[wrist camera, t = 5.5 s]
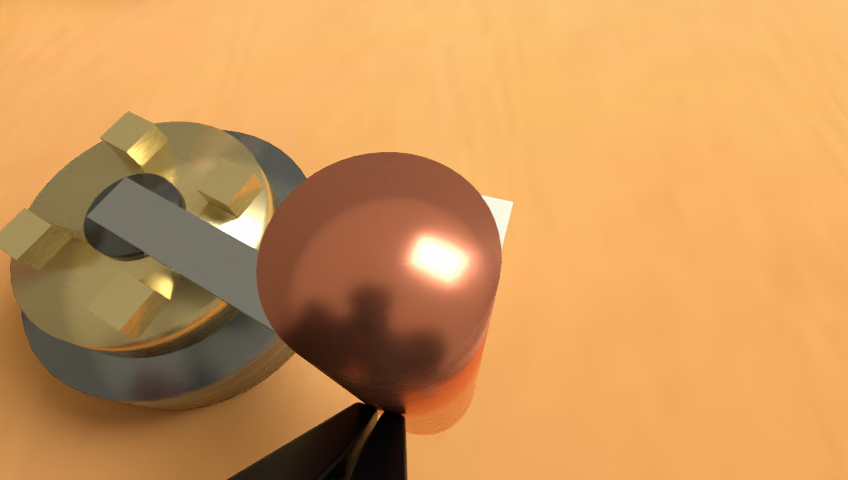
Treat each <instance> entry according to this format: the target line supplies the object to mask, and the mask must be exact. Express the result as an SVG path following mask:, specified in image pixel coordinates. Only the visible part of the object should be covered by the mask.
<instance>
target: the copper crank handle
mask: <svg viewBox="0 0 848 480" xmlns="http://www.w3.org/2000/svg"><path fill="white" fill-rule="evenodd" d="M100 138H101V139H102V140H103V141H102V142H100V143H98V144H97V145H95V146H93V147H92V148H90V149H88V150H87V151H85V152H84V153H82V154H81V155H79V156H78V157H77V158H75V159H74V160H72V161H71V162H70V163H69V164H68V165H66V166H65V167H64V168H63V169H62V170H61V171H59V172H58V173H57V174H56V175H55V176H54V177H53V178H52V179H51V180H50V181H49V182H48V184H47V185H46V186H45V187H44V188H43V190H42V191H41V192H40V193H39V194H38V196H37V197H36V199H35V200H34V202H33V203H32V205H31V206H30V208H29V209H28V210H27V209H25V208H24V209H23V210H22V211H21V212H20V213H19V214H18V215H17V216H16V217H15V218H14V219H13V220H12V221H10V222H9V223H8V224H7V225H6V226H5V227H4V228H3V229H2V230H1V231H0V249H1V250H3V251H4V252H6V253H7V254H9V255H10V256H11V265H10V272H11V283H12V287H13V291H14V295H15V297H16V299H17V302H18V304H19V306H20V308H21V309H22V311H23V312H24V313H25V315H26V316H27V317H28V319H29V320H30V321H32V322H33V323H34V324H35V325H36V326H37V327H38V328H39V329H41V330H43V331H44V332H46V333H48V334H49V335H51V336H53V337H56V338H58V339H61V340H63V341H66V342H69V343H72V344H75V345H78V346H81V347H84V348H87V349H90V350H93V351H96V352H99V353H102V354H105V355H110V356H115V357H120V358H149V357H156V356H161V355H166V354H170V353H173V352H176V351H179V350H182V349H185V348H188V347H190V346H192V345H194V344H196V343H198V342H200V341H202V340H204V339H206V338H208V337H209V336H211V335H213V334H214V333H216V332H217V331H219V330H220V329H222V328H223V327H224V326H226V325H227V324H228V323H230V322H231V321H232V320H233V319H234V318H236V317H237V316H238V315H239V314H240V313H243V314H245V315H246V316H248V317H250V318H251V319H253V320H255V321H256V322H258V323H260V324H261V325H263V326H264V327H266V328H268V329H269V330H271V331H273V332H274V333H276V334H278V336H279V337H280V338H281V339H282V340H283V341H284V342H285V343H286V344H287V345H288V346H289V347H290V348H291V349H292V350H293V351H294V352H296V353H297V354H298V355H300V356H301V357H302V358H304V359H305V360H307V361H308V362H309V363H311V364H312V365H313V366H315V367H316V368H317V369H319V370H320V371H322V372H323V373H324V374H326V375H327V376H328V377H330V378H331V379H332V380H334V381H335V382H336V383H338V384H339V385H341V386H342V387H343V388H345V389H346V390H347V391H349V392H350V393H351V394H353V395H354V396H356V397H357V398H358V399H360V400H361V401H362V402H364V403H365V404H367V405H369V406H371V407H373V408H376V409H377V410H378V413H379V414H380V415H382V414H383V412H390V413H395V414H400V415H403V416H404V417H405V420H406V432H409V433H412V434H417V435H431V434H436V433H439V432H442V431H444V430H446V429H448V428H450V427H451V426H453V425H454V424H455V423H457V422H458V421H459V420H460V419H461V418H462V416H463V415H464V414H465V412H466V411H467V409H468V407H469V405H470V403H471V400H472V397H473V393H474V389H475V384H476V380H477V375H478V371H479V367H480V362H481V358H482V353H483V349H484V344H485V340H486V336H487V331H488V327H489V322H490V318H491V313H492V309H493V304H494V300H495V296H496V291H497V287H498V282H499V278H500V271H501V263H502V256H501V242H500V236H499V231H498V228H497V225H496V222H495V219H494V217H493V215H492V213H491V211H490V208H489V206H488V205H487V203H486V202H485V201H484V199H483V198H482V196H481V195H480V194H479V192H478V191H477V190H476V189H475V188H474V187H473V186H472V185H471V184H470V183H469V182H468V181H467V180H466V179H464V178H463V177H462V176H461V175H459V174H458V173H456V172H455V171H453V170H452V169H450V168H449V167H447V166H445V165H442V164H440V163H438V162H436V161H433V160H431V159H428V158H425V157H421V156H417V155H413V154H406V153H398V152H379V153H369V154H364V155H359V156H354V157H351V158H347V159H344V160H341V161H339V162H336V163H334V164H332V165H329V166H327V167H325V168H323V169H322V170H320V171H318V172H316V173H314V174H313V175H312V176H310V177H309V178H307V179H306V180H305V181H303V182H302V183H301V184H300V185H299V186H297V187H296V188H295V189H294V190H293V191H292V192H291V193H290V194H289V195H288V196H287V197H286V198H285V200H284V201H283V202H282V203H281V204H280V201H279V198H278V196H277V194H276V191H275V189H274V188H273V186H272V184H271V183H270V181H269V180H268V178H267V177H266V175H265V173H264V172H263V170H262V169H261V167H260V166H259V164H258V163H257V161H256V160H255V158H254V156H253V155H252V153H251V152H250V151H249V150H248V149H247V148H246V147H245V146H244V144H242V143H241V142H240V141H239V140H237V139H236V138H235V137H233V136H231V135H230V134H228V133H226V132H224V131H222V130H220V129H217V128H214V127H212V126H208V125H204V124H200V123H191V122H164V123H156V124H153V123H151V122H149V121H147V120H145V119H143V118H141V117H139V116H137V115H135V114H133V113H131V112H129V111H128V112H127V113H126V114H125V115H124V116H122V117H121V118H120V119H119V120H118V121H117V122H116V123H115V124H114V125H113V126H112V127H111V128H110V129H109V130H108V131H106V132H105V133H104V134H103V135H102V136H101V137H100Z"/></svg>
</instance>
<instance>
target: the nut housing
mask: <svg viewBox="0 0 848 480" xmlns="http://www.w3.org/2000/svg"><path fill="white" fill-rule="evenodd" d="M222 131H224V132H226V133H228V134H230V135H231V136H233V137H235V138H236V139H237V140H239V141H240V142H241V143H242V144H244V146H245V147H246V148H247V149H248V150H249V151H250V152H251V153H252V155H253V156H254V158H255V160H256V161H257V163H258V164H259V166H260V167H261V169H262V170H263V172H264V173H265V175H266V177H267V178H268V180H269V181H270V183H271V184H272V186H273V188H274V189H275V191H276V194H277V196H278V198H279V201H280V204H281V203H282V202H283V201H284V200H285V198H286V197H287V196H288V195H289V194H290V193H291V192H292V191H293V190H294V189H295V188H296V187H297V186H299V185H300V184H301V183H302V182H303V181H305V180H306V177H305V175H304V174H303V172H302V171H301V169H300V168H299V167H298V166H297V165H296V163H295V162H294V161H293V160H292V159H291V158H290V157H289V156H287V155H286V154H285V153H284V152H283V151H281V150H280V149H278V148H277V147H275V146H273V145H272V144H270V143H268V142H266V141H264V140H262V139H259V138H257V137H255V136H251V135H247V134H244V133H240V132H233V131H227V130H222ZM22 319H23V324H24V329H25V333H26V336H27V338H28V341H29V343H30V346H31V348H32V350H33V351H34V353H35V354H36V356H37V357H38V359H39V361H40V362H41V363H42V364H43V365H44V366H45V367H46V368H47V370H48V371H49V372H50V373H51V374H52V375H53V376H55V377H56V378H58V379H59V380H61V381H62V382H63V383H65V384H66V385H68V386H70V387H72V388H74V389H76V390H79V391H81V392H83V393H85V394H89V395H93V396H97V397H100V398H104V399H109V400H114V401H119V402H124V403H129V404H134V405H139V406H143V407H148V408H155V409H165V410H179V409H192V408H197V407H203V406H208V405H211V404H214V403H217V402H221V401H224V400H227V399H229V398H231V397H234V396H236V395H238V394H240V393H242V392H244V391H247V390H248V389H250V388H251V387H253V386H255V385H256V384H258V383H260V382H261V381H263V380H264V379H266V378H267V377H268V376H270V375H271V374H272V373H273V372H275V371H276V370H277V369H279V368H280V367H281V366H282V365H283V364H284V363H285V362H286V361H287V360H288V359H289V358H290V357H291V356H292V355H293V354H294V353H295V352H294V351H293V350H292V349H291V348H290V347H289V346H288V345H287V344H286V343H285V342H284V341H283V340H282V339H281V338H280V337H279V336H278V334H276V333H274V332H273V331H271V330H269V329H268V328H266V327H264V326H263V325H261V324H260V323H258V322H256V321H255V320H253V319H251V318H250V317H248V316H246V315H245V314H243V313H240V314H239V315H238V316H237V317H236V318H234V319H233V320H232V321H231V322H230V323H228V324H227V325H226V326H224V327H223V328H222V329H220V330H219V331H217V332H216V333H214V334H213V335H211V336H209V337H208V338H206V339H204V340H202V341H200V342H198V343H196V344H194V345H192V346H190V347H188V348H185V349H182V350H179V351H176V352H173V353H170V354H166V355H161V356H156V357H149V358H120V357H115V356H110V355H105V354H102V353H99V352H96V351H93V350H90V349H87V348H84V347H81V346H78V345H75V344H72V343H69V342H66V341H63V340H61V339H58V338H56V337H53V336H51V335H49V334H48V333H46V332H44V331H43V330H41V329H39V328H38V327H37V326H36V325H35V324H34V323H33V322H32V321H30V320H29V319H28V317H27V316H26V315H25V313H24V312H23V311H22Z"/></svg>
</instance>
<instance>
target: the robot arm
mask: <svg viewBox="0 0 848 480" xmlns="http://www.w3.org/2000/svg"><path fill="white" fill-rule="evenodd" d="M377 417H378V410H377V409H376V408H373V407H371V406H369V405H367V404H364V403H360V402H358V403H355V404H353V405H351V406H349V407H348V408H346V409H344V410H343V411H341V412H339V413H338V414H336V415H334V416H333V417H331V418H329V419H328V420H326V421H324V422H323V423H321V424H319V425H318V426H316V427H314V428H313V429H311V430H309V431H308V432H306V433H304V434H303V435H301V436H299V437H298V438H296V439H294V440H293V441H291V442H289V443H287V444H286V445H284V446H282V447H281V448H279V449H277V450H276V451H274V452H272V453H271V454H269V455H267V456H266V457H264V458H262V459H261V460H259V461H257V462H256V463H254V464H252V465H251V466H249V467H247V468H246V469H244V470H242V471H241V472H239V473H237V474H236V475H234V476H232V477H231V478H229V479H227V480H407V450H406V420H405V417H404V416H403V415H400V414H395V413H390V412H383V414H382V415H381V417H380V418H379V420H378V421H377Z"/></svg>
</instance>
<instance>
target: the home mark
mask: <svg viewBox="0 0 848 480" xmlns="http://www.w3.org/2000/svg"><path fill="white" fill-rule="evenodd" d="M481 196H482V195H481ZM482 198H483V199H484V201H485V202H486V203H487V205H488V206H489V208H490V211H491V213H492V215H493V217H494V219H495V222H496V225H497V228H498V231H499V236H500V242H501V250H502V246H503V242H504V238H505V234H506V230H507V226H508V221H509V217H510V213H511V209H512V205H513V202H510V201H506V200H501V199H496V198H492V197H487V196H482Z"/></svg>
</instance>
